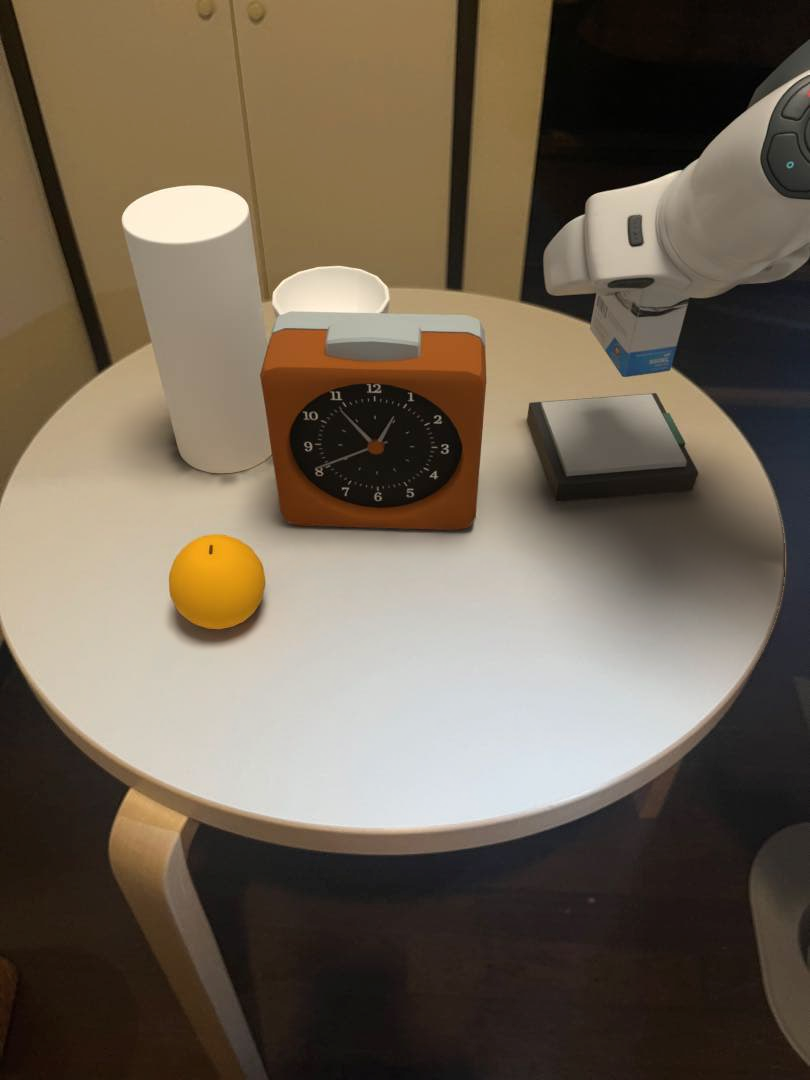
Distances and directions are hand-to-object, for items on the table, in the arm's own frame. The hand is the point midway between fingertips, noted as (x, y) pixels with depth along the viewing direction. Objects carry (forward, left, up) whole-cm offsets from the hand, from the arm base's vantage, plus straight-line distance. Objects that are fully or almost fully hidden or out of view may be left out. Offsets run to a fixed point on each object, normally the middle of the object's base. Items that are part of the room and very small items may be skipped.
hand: (640, 284), depth 76 cm
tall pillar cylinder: (+39, -6, -19) cm, 44 cm away
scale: (0, +1, -19) cm, 19 cm away
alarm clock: (+24, +5, -19) cm, 31 cm away
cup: (+27, -15, -19) cm, 37 cm away
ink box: (0, +1, -7) cm, 7 cm away
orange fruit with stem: (+39, +17, -19) cm, 47 cm away
